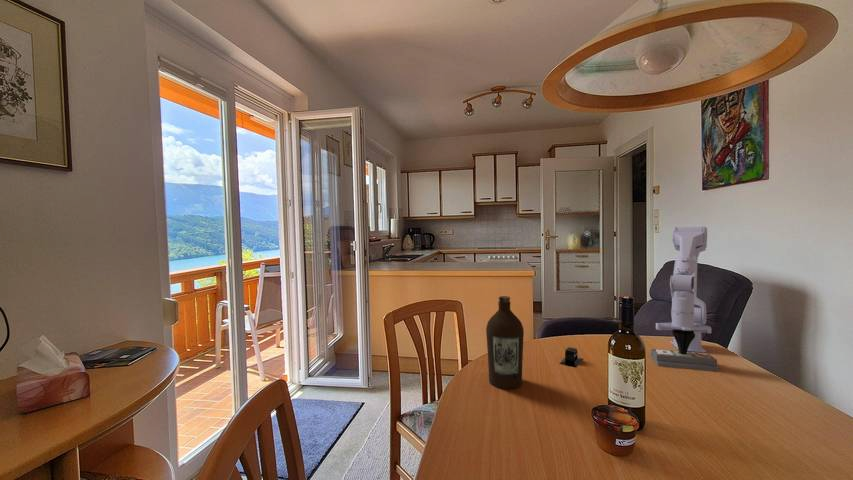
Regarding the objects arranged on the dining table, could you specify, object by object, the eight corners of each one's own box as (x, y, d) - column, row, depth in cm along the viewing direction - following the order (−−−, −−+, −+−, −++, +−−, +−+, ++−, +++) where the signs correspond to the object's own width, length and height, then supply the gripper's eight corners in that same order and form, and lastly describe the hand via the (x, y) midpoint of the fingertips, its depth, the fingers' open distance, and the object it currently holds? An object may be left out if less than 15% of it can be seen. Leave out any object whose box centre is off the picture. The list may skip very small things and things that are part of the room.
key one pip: (655, 355, 115) (655, 349, 115) (669, 356, 114) (669, 350, 114) (659, 359, 111) (659, 353, 111) (674, 360, 110) (674, 354, 110)
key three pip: (691, 358, 112) (691, 351, 112) (705, 359, 111) (705, 353, 110) (696, 362, 108) (696, 356, 108) (711, 364, 107) (711, 357, 107)
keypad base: (650, 356, 117) (650, 347, 117) (706, 361, 112) (706, 352, 112) (657, 365, 110) (658, 355, 110) (718, 371, 105) (718, 361, 104)
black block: (577, 371, 108) (577, 357, 108) (553, 366, 112) (553, 352, 112) (587, 359, 117) (587, 346, 117) (565, 354, 122) (565, 342, 122)
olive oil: (486, 373, 106) (485, 293, 105) (521, 375, 105) (521, 293, 104) (487, 389, 96) (486, 300, 95) (526, 391, 94) (525, 301, 93)
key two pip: (673, 356, 113) (673, 350, 113) (687, 358, 112) (687, 351, 112) (677, 361, 110) (677, 354, 110) (692, 362, 108) (692, 356, 108)
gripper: (660, 313, 109) (660, 355, 109) (716, 315, 104) (715, 360, 105) (653, 308, 116) (653, 348, 116) (705, 310, 111) (705, 352, 111)
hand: (682, 353), depth 111 cm, fingers closed, pressing on key two pip
